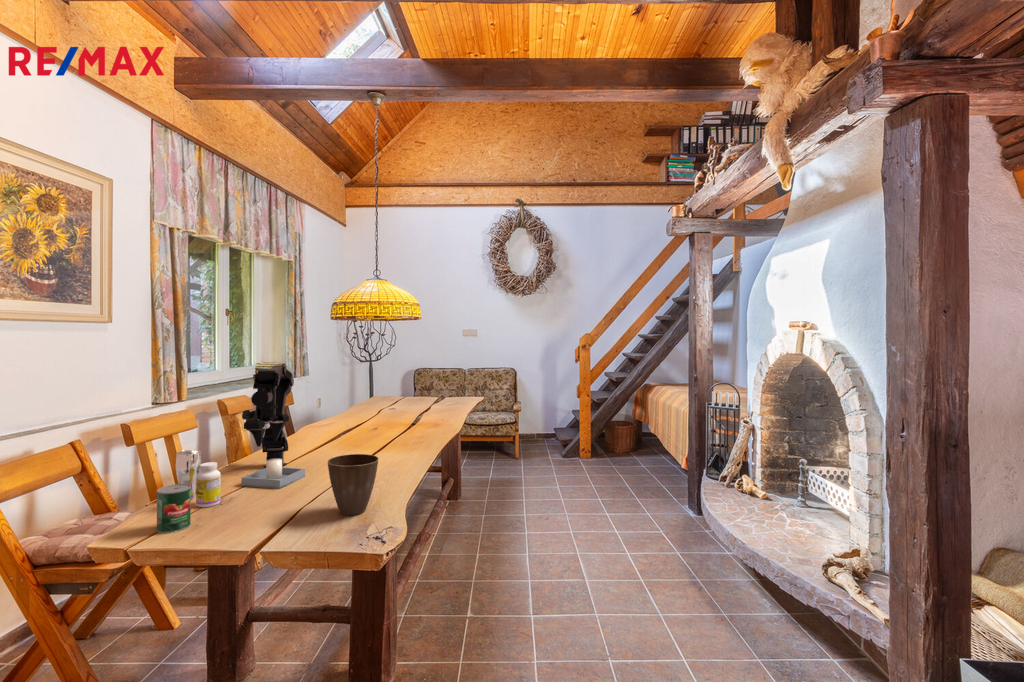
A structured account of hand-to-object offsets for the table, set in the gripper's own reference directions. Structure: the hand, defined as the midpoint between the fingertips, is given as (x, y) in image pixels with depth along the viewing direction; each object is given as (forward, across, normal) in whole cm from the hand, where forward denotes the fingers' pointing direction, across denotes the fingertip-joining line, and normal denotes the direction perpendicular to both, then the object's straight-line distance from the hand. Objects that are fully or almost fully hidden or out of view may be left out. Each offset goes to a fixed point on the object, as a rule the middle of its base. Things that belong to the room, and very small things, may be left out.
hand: (267, 443), depth 188 cm
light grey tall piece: (+12, +28, -8) cm, 32 cm away
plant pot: (+12, +28, +50) cm, 59 cm away
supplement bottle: (+12, +32, +3) cm, 34 cm away
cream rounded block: (+11, +6, +8) cm, 15 cm away
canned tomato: (+12, +50, +8) cm, 52 cm away
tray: (+12, +6, +8) cm, 15 cm away
